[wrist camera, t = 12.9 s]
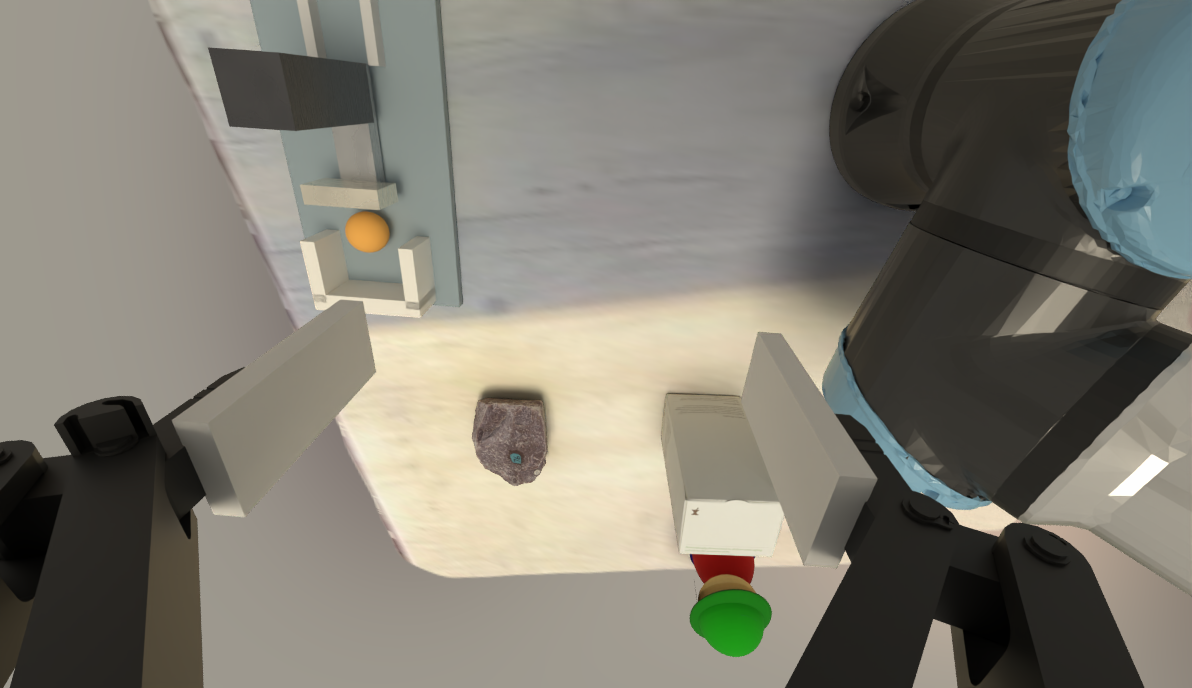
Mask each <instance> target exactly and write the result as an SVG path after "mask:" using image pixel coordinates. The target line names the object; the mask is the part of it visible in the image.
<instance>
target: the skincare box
mask: <svg viewBox="0 0 1192 688" xmlns="http://www.w3.org/2000/svg"><path fill="white" fill-rule="evenodd" d="M661 441H662V447H663V454H664V460H665V467H666V474H667V480H668V486H669V493H670V499H671V505H672V511H673V518H674V524H675V531H676V537H677V543H678V550H679V553H680V554H708V555H734V556H757V557H772V556H773V552H774V549H775V546H776V543H777V539H778V536H779V533H780V529H781V526H782V522H783V519H784V516H785V515H784V513H783V510H782V507H781V505H780V502H779V500H778V497H777V494H776V492H775V489H774V487H773V484H772V481H771V479H770V476H769V474H768V471H767V468H766V466H765V463H764V461H763V458H762V455H761V453H760V450H759V447H758V445H757V442H756V440H755V437H754V434H753V432H752V429H751V427H750V424H749V421H748V419H747V416H746V414H745V411H744V408H743V406H742V403H741V398H740V397H739V396H715V395H687V394H667V395H666V399H665V407H664V416H663V425H662V435H661Z"/></svg>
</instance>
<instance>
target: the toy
mask: <svg viewBox="0 0 1192 688" xmlns="http://www.w3.org/2000/svg"><path fill="white" fill-rule="evenodd" d="M690 558H691V561H692V562H693V564H694V566H695V568H696V571H697V573H698V575H699V577H700V578H701V580H702V581H703V583H704V585H703V587H702V588H701V590H700V592H699V597H698V602H697V603H696V604H695V605H694V607H693V608H692V610H691V614H690V623H691V626H692V628H693V629H694V631H695V632H696V633H697V634H699V635H700V636H702V637H704V638H705V639H706V640H707V641H708V643H709V644H710V645H711V646H712V647H713V648H714V649H716V650H717V651H719V652H721V653H722V654H725V655H727V656H732V657H740V656H745V655H747V654H749V653H751V652H752V651H754V649H756V648H757V646H758V645H759V643H760V641H761V639H762V636H763V631H764V629H765V628H766V627H767V625H768V624H769V622H770V620H771V615H772V611H771V607H770V605H769V603H768V602H767V601H766V600H765V599H764V598H763V597H762V596H760V595H759V594H757V593H756V592H755V591H754V589H753V588H752V586H751V585H750V583H751V581H752V578H753V574H754V558H755V556H734V555H708V554H690Z"/></svg>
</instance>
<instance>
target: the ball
mask: <svg viewBox="0 0 1192 688" xmlns="http://www.w3.org/2000/svg"><path fill="white" fill-rule="evenodd" d="M345 234H346V237H347V239H348V241H349V243H350V244H351V245H352V246H353V247H354V248H356V249H358V250H360V251H362V252H367V253H371V252H377V251H379V250H381V249H382V248H384V247H385V246H386V244H387V243H388V240H389V236H390V232H389V227H388V225H387V223H386V222H385V220H384V219H383V218H382V217H380V216H379V215H377V214H375V213H373V212H367V211H363V212H358V213H356V214H354V215H352V216H351V217H350V218H349V219H348V221H347V223H346V226H345Z"/></svg>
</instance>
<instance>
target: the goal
mask: <svg viewBox="0 0 1192 688" xmlns="http://www.w3.org/2000/svg"><path fill="white" fill-rule="evenodd" d="M300 244H301V248H302V252H303V257H304V261H305V265H306V269H307V274H308V278H309V282H310V286H311V291H312V295H313V299H314V303H315V308H316V310H326V309H328V308H329V307H330V306H332V305H333V304H335V303H336V302H337V301H339V300H340V299H341V300H354V301H363V304H364V309H365V313H366V314H379V315H391V316H404V317H417V318H421V317H422V316H423V315H424V314H425V312H426V311H427V310H428V309H429V308H430V307H431V306H432V305H433V304H434V303H435V302H436V293H435V283H434V274H433V264H432V255H431V245H430V237H422V236H416V237H414V238H413V239H411V240H410V241H409V242H407V243H406V244H404V245H403V246H401V247H400V248H398V253H399V260H400V267H401V274H402V282H403V284H400V283H387V282H374V281H362V280H349V277H348V272H347V267H346V261H345V256H344V251H343V246H342V241H341V236H340V230H329V229H326V230H324V231H322V232H319V233H317V234H315V235H313V236H310V237H308V238H306V239H304V240H301V241H300Z"/></svg>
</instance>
